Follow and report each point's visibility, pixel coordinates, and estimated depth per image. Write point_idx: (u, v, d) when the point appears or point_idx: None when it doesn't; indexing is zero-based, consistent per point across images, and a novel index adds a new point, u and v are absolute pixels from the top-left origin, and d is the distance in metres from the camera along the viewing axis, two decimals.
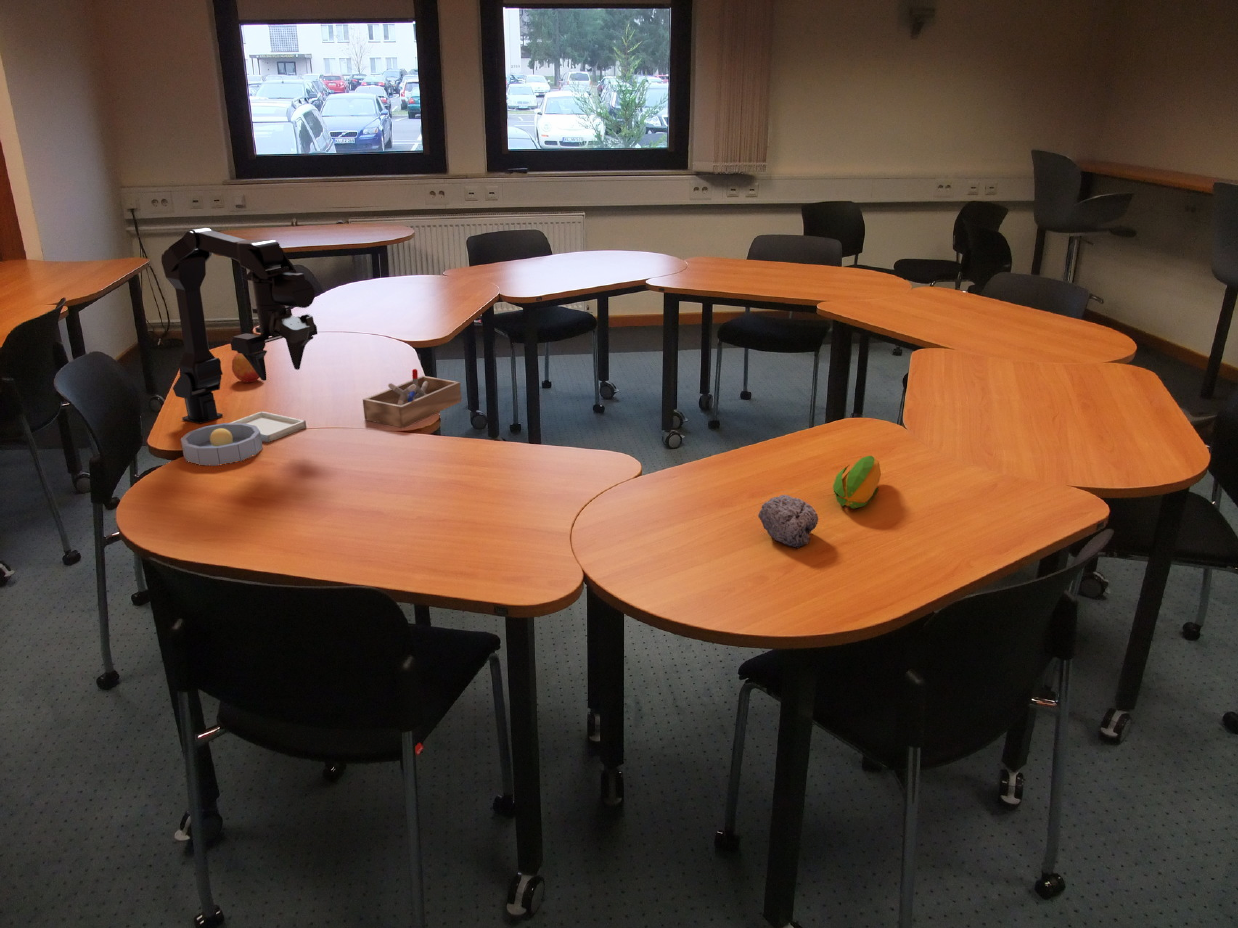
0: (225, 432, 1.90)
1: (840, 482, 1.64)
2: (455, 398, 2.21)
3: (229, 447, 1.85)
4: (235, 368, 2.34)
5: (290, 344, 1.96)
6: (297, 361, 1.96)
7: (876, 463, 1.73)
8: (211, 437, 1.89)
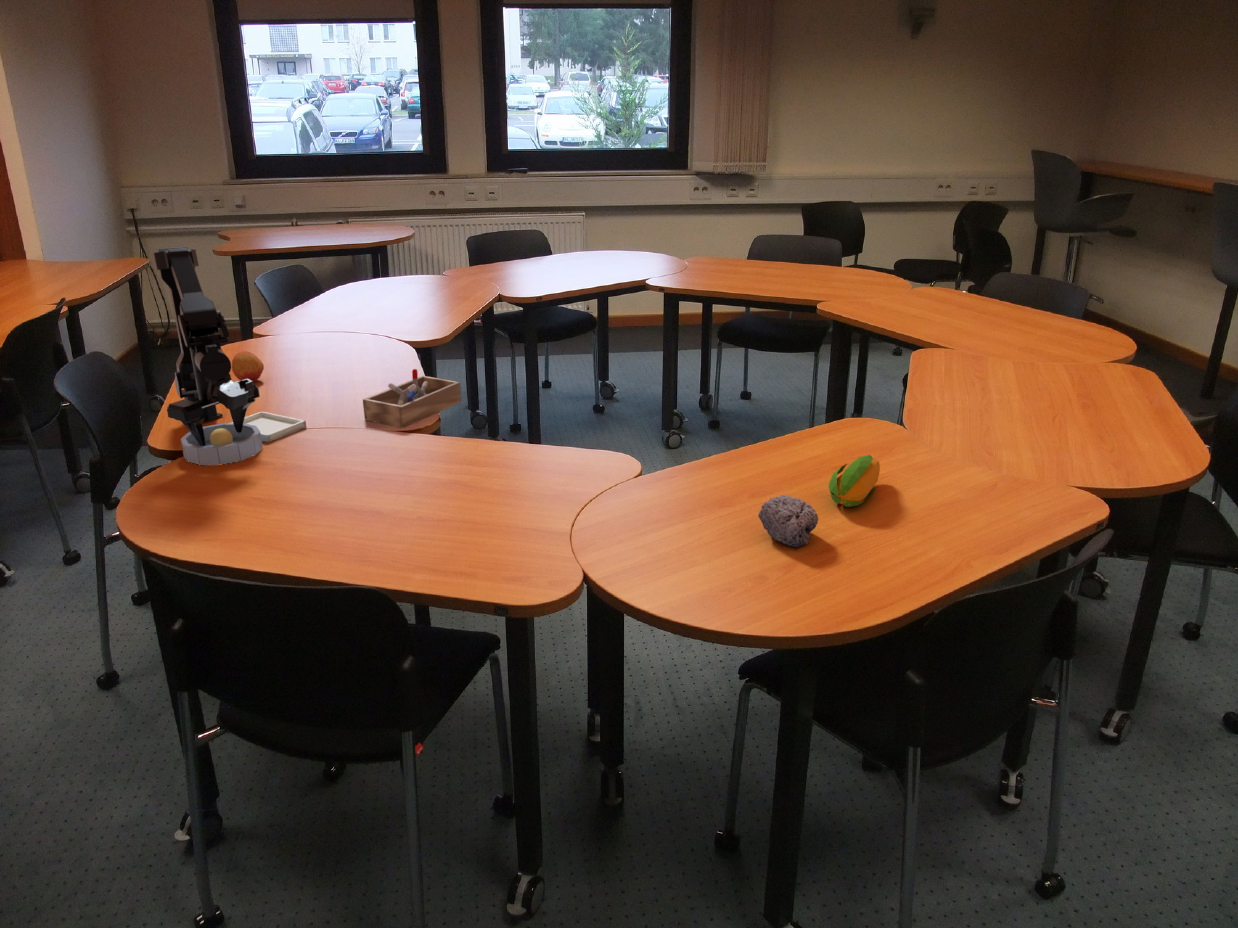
0: (225, 432, 1.90)
1: (835, 480, 1.65)
2: (455, 398, 2.21)
3: (229, 447, 1.85)
4: (235, 368, 2.34)
5: None
6: (239, 424, 1.93)
7: (875, 463, 1.73)
8: (211, 437, 1.89)
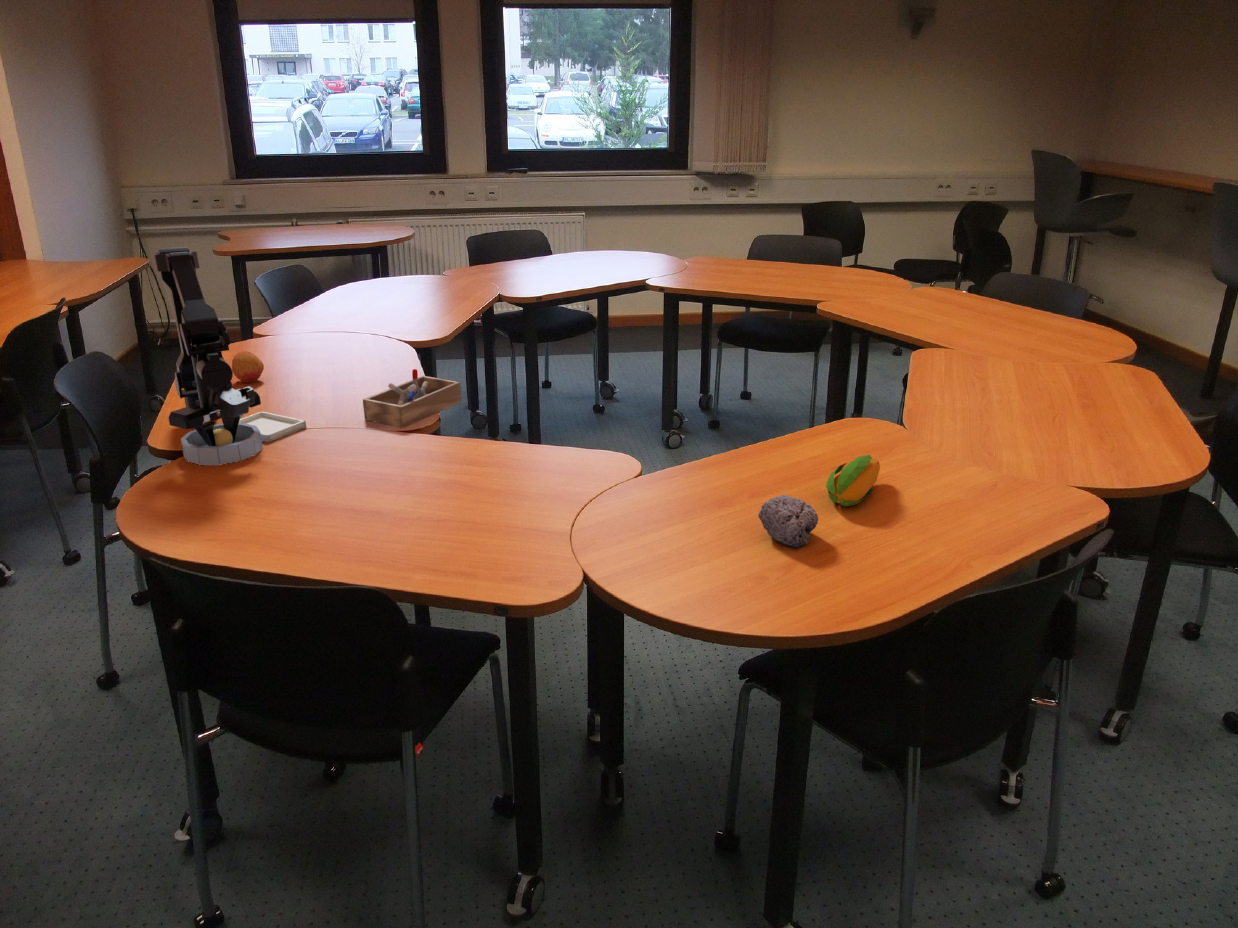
0: (225, 432, 1.90)
1: (832, 479, 1.65)
2: (455, 398, 2.21)
3: (229, 447, 1.85)
4: (235, 368, 2.34)
5: (224, 417, 1.92)
6: None
7: (874, 463, 1.73)
8: None
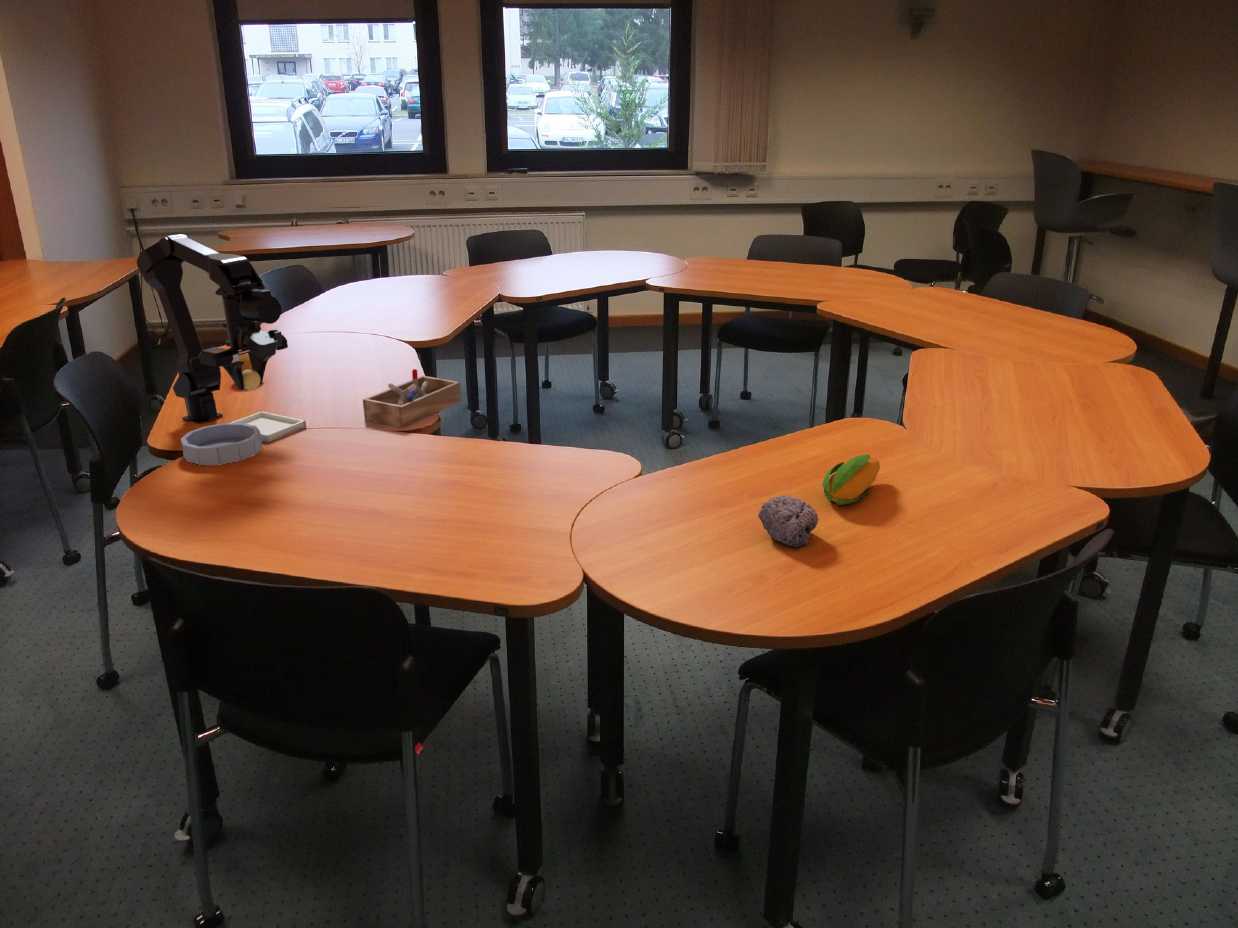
0: (254, 373, 1.96)
1: (828, 478, 1.66)
2: (455, 398, 2.21)
3: (229, 447, 1.85)
4: None
5: (253, 359, 1.99)
6: None
7: (873, 462, 1.73)
8: None
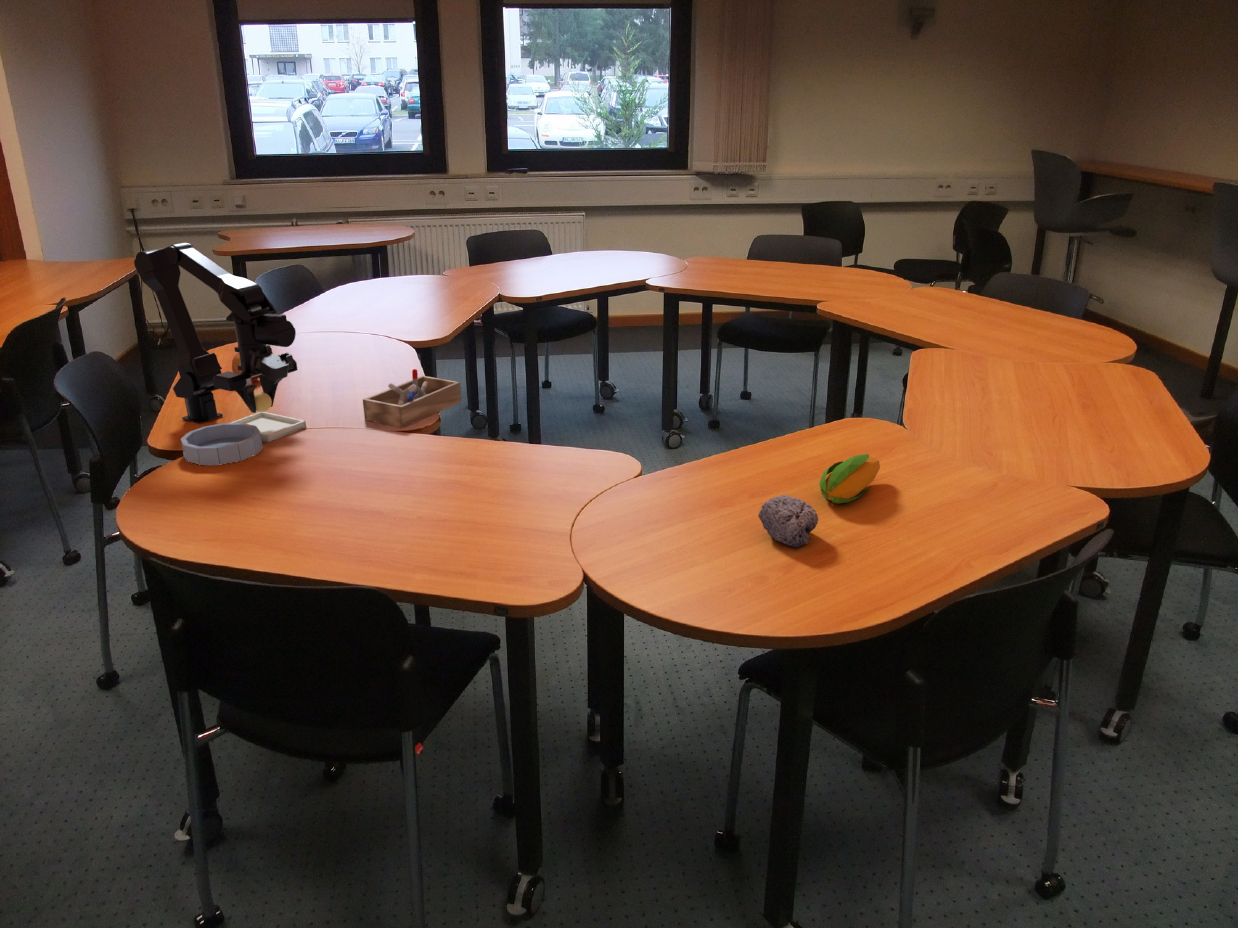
0: (265, 396, 2.01)
1: (824, 476, 1.66)
2: (455, 398, 2.21)
3: (229, 447, 1.85)
4: (235, 368, 2.34)
5: (263, 382, 2.04)
6: None
7: (872, 462, 1.73)
8: None
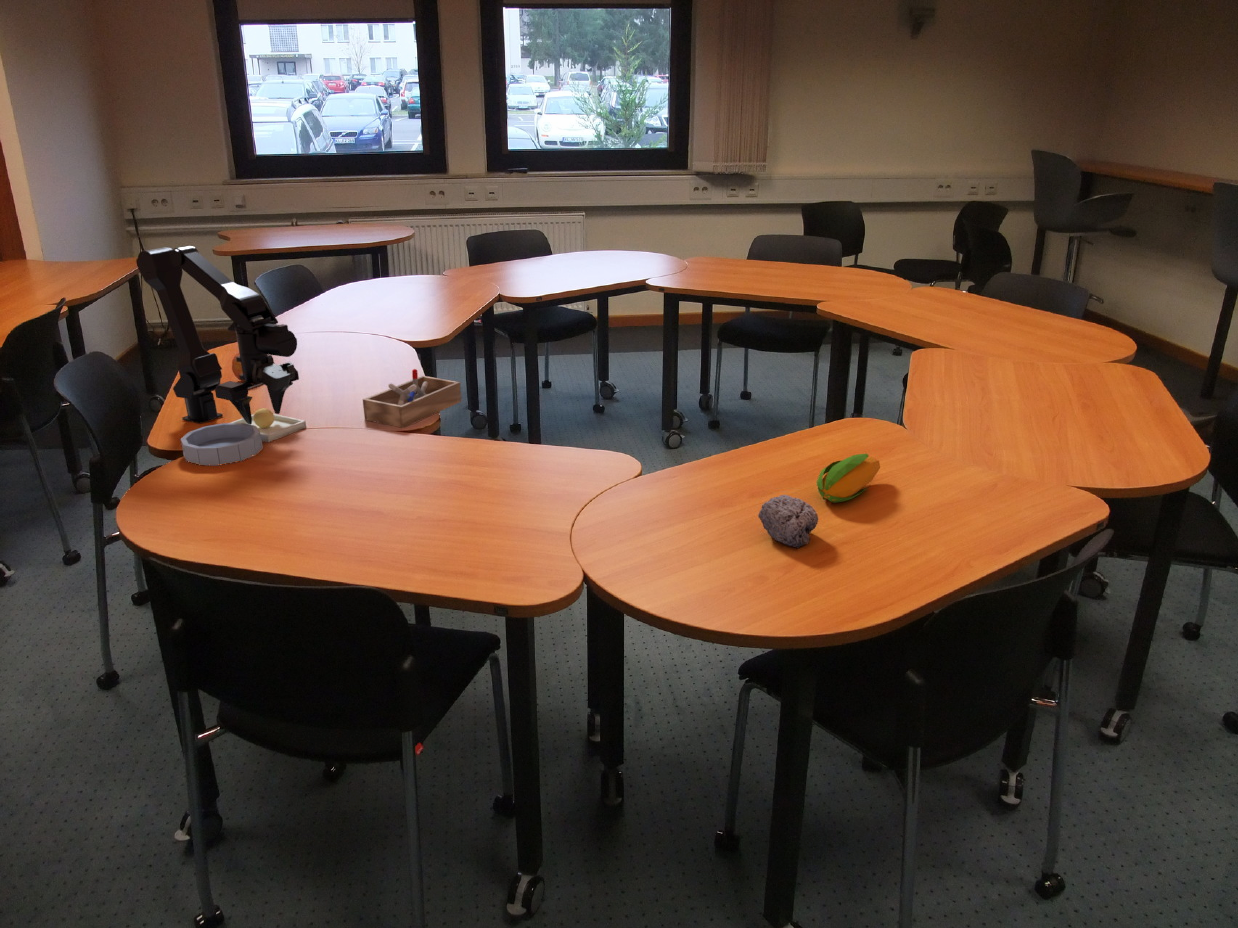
0: (268, 412, 2.02)
1: (821, 475, 1.67)
2: (455, 398, 2.21)
3: (229, 447, 1.85)
4: (235, 368, 2.34)
5: (270, 390, 2.06)
6: (277, 406, 2.06)
7: (871, 461, 1.73)
8: (254, 417, 2.02)
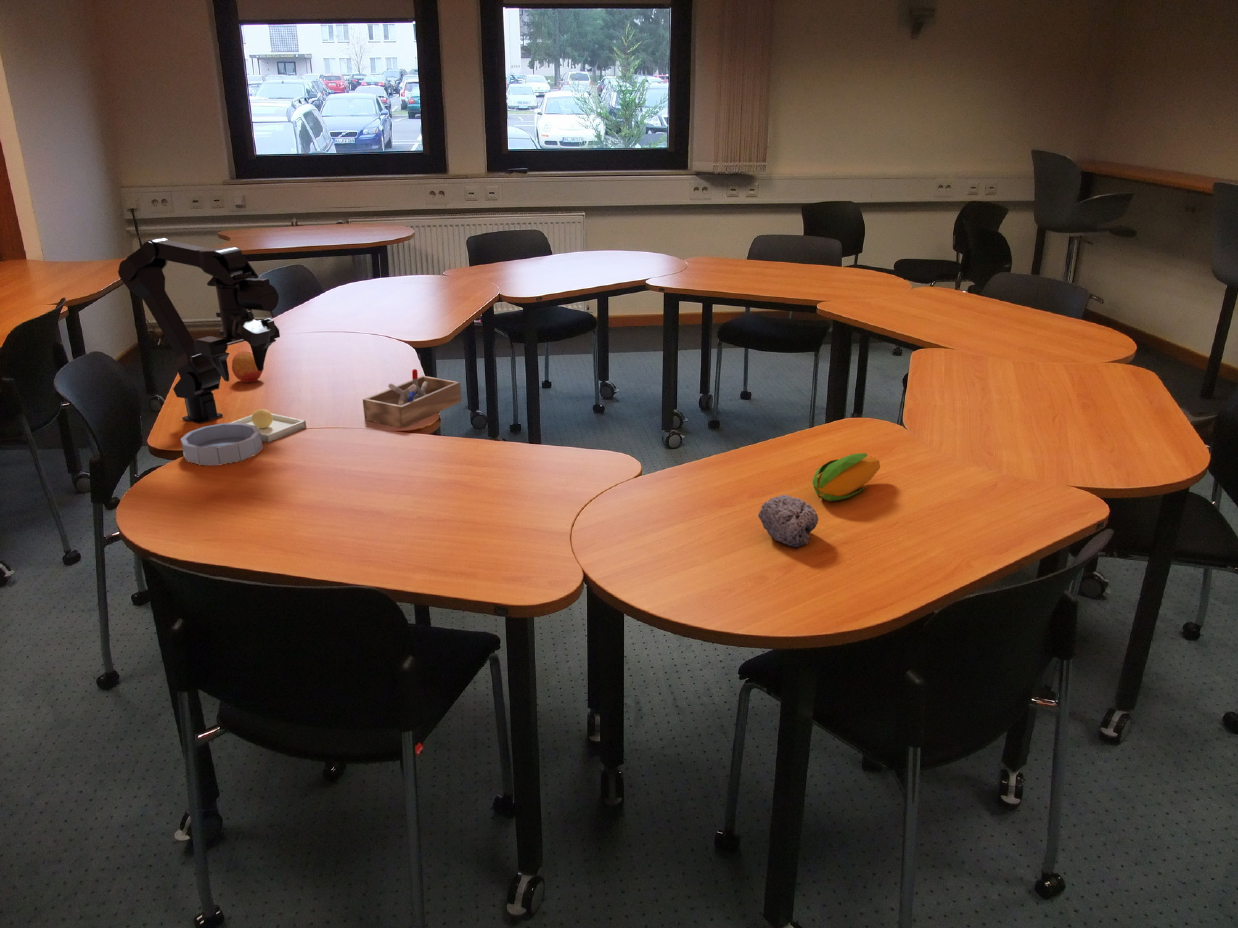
0: (265, 413, 2.02)
1: (817, 473, 1.68)
2: (455, 398, 2.21)
3: (229, 447, 1.85)
4: (235, 368, 2.34)
5: (253, 346, 2.05)
6: (260, 363, 2.05)
7: (870, 461, 1.74)
8: (253, 419, 2.01)
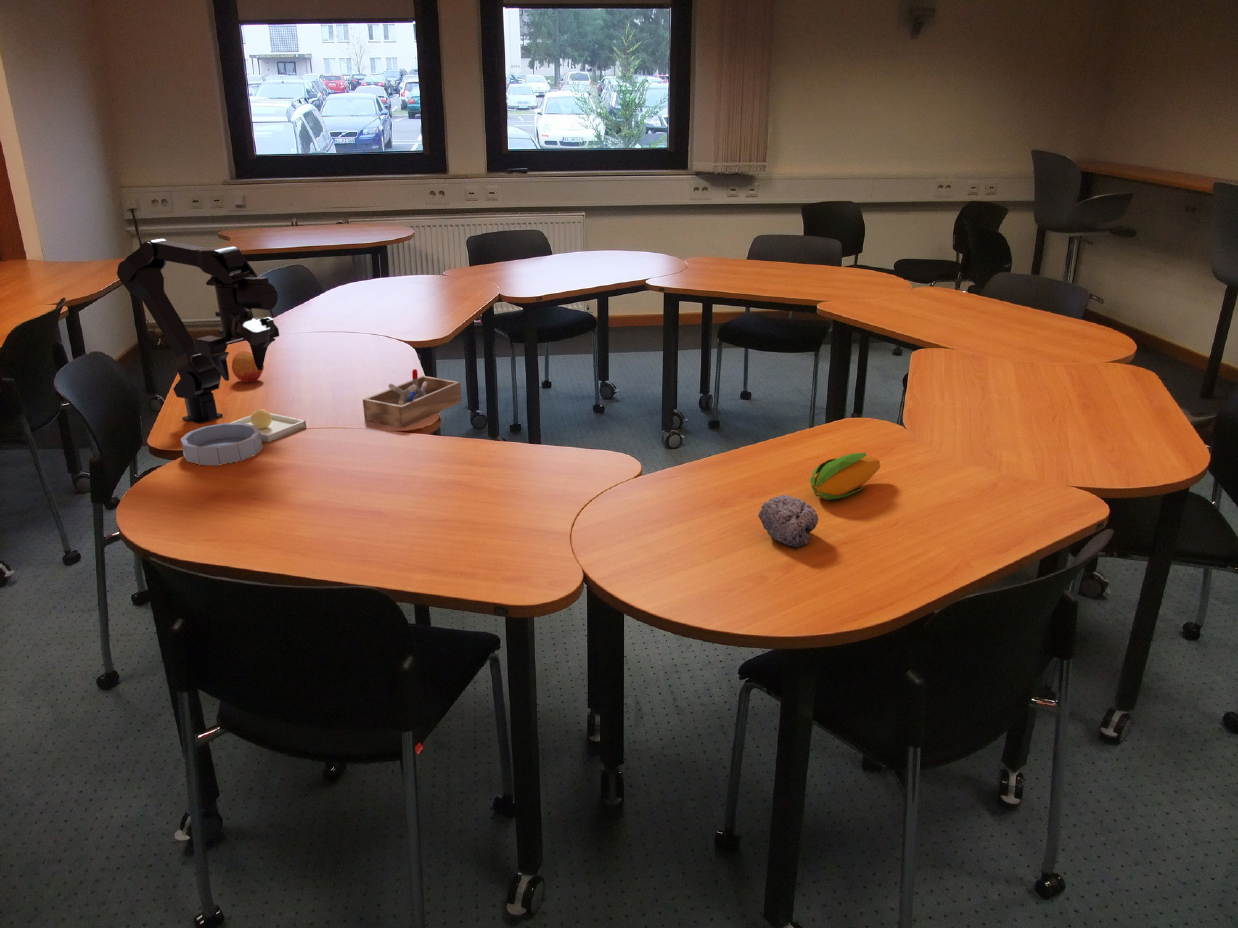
0: (263, 414, 2.01)
1: (815, 472, 1.68)
2: (455, 398, 2.21)
3: (229, 447, 1.85)
4: (235, 368, 2.34)
5: (253, 346, 2.05)
6: (260, 362, 2.05)
7: (870, 461, 1.74)
8: (252, 421, 2.01)
